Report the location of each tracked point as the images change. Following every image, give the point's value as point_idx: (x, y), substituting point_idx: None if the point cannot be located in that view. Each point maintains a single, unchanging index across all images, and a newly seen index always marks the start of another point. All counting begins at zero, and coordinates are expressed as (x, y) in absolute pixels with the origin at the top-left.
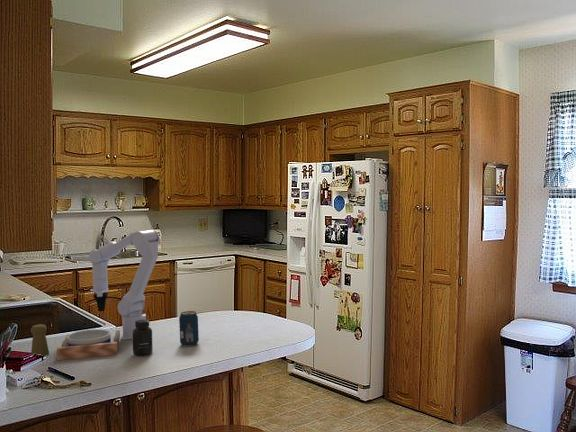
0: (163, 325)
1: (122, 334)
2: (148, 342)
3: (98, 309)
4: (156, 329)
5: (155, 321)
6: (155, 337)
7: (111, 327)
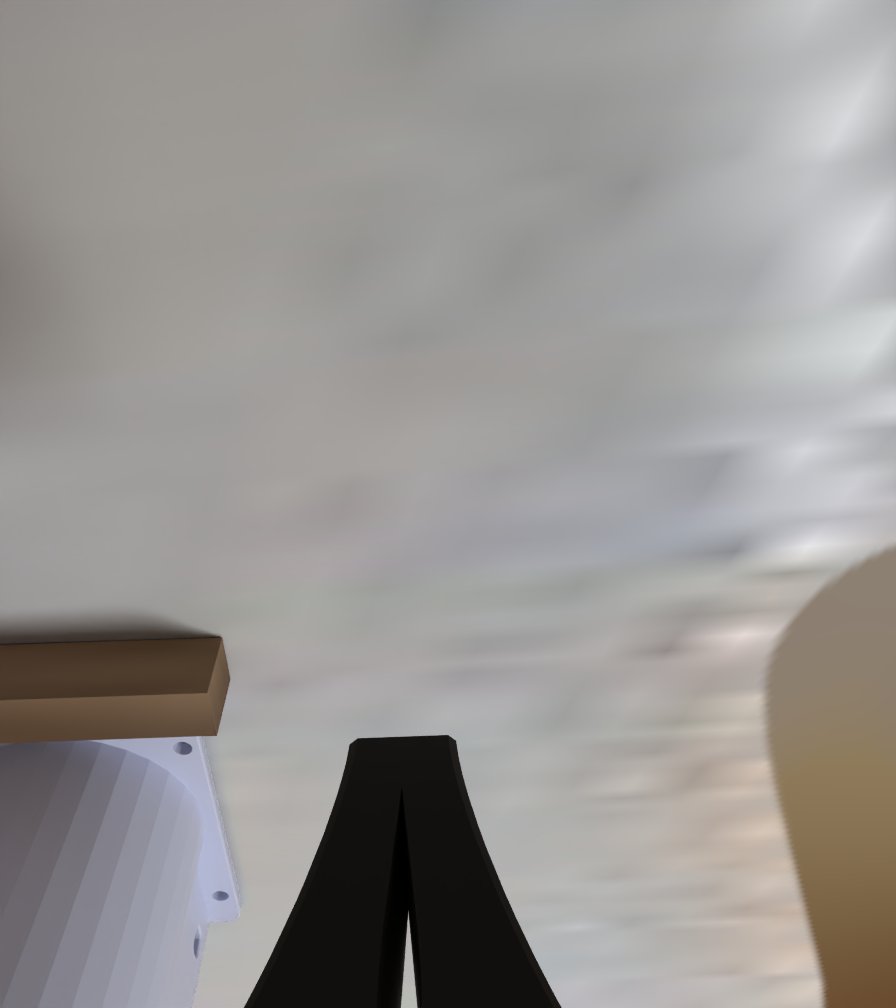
0: None
1: None
2: None
3: (345, 783)
4: None
5: (798, 944)
6: None
7: (792, 543)
